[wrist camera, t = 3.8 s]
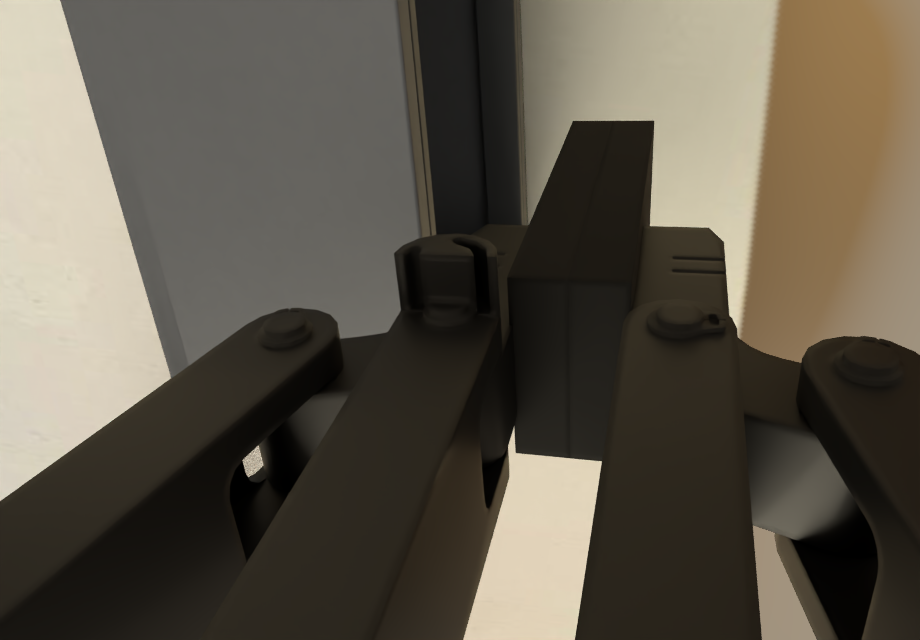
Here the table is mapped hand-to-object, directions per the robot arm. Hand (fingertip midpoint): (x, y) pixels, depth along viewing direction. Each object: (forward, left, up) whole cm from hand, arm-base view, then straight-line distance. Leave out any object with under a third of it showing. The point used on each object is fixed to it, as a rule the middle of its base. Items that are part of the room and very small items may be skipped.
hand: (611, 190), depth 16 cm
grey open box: (+5, -5, -12) cm, 14 cm away
